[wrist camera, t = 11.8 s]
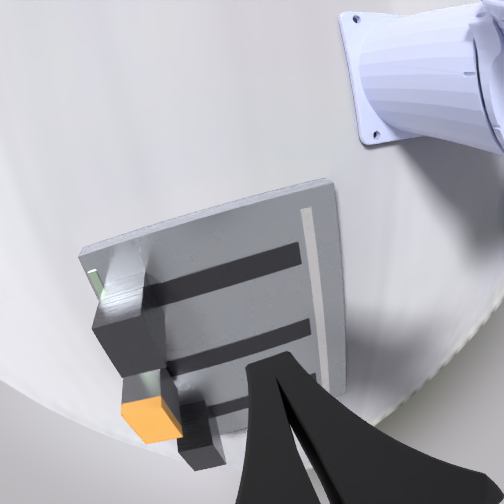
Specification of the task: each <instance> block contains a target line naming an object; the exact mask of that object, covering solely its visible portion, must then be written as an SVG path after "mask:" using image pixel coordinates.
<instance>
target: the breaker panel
mask: <svg viewBox="0 0 504 504" xmlns="http://www.w3.org/2000/svg"><path fill="white" fill-rule="evenodd" d="M78 258H79V260H80V262H81V264H82V267H83V269H84V271H85V273H86V275H87V277H88V279H89V282H90V284H91V286H92V288H93V290H94V292H95V294H96V296H97V298H98V300H99V304H98V308H97V311H96V315H95V318H94V322H93V325H92V330H93V332H94V334H95V335H96V337H97V339H98V340H99V342H100V344H101V345H102V347H103V349H104V350H105V352H106V354H107V355H108V357H109V358H110V360H111V362H112V363H113V365H114V366H115V368H116V369H117V371H118V372H119V374H120V375H121V377H122V378H123V377H128V376H132V375H137V374H141V373H145V372H149V371H153V370H157V369H162V368H166V369H167V371H168V373H169V375H170V376H171V378H172V380H173V382H174V383H175V385H176V387H177V389H178V397H179V407H180V416H181V425H182V433H183V437H181V438H177V446H178V453H179V454H180V455H181V456H182V457H183V458H184V460H185V461H186V462H187V463H188V464H189V465H190V466H191V467H192V469H193V470H194V471H198V470H203V469H207V468H212V467H216V466H221V465H225V464H226V460H225V456H224V452H223V447H222V443H221V438H220V435H222V434H226V433H229V432H233V431H237V430H240V429H244V428H247V427H248V405H249V403H248V383H247V375H246V370H245V367H246V366H247V365H248V364H250V363H253V362H256V361H259V360H262V359H265V358H268V357H271V356H274V355H276V354H279V353H282V352H285V351H288V352H291V354H292V355H293V356H294V358H295V359H296V360H297V361H298V363H299V364H300V365H301V366H302V367H303V368H304V369H305V370H306V371H307V373H308V374H309V375H310V376H311V377H312V378H313V379H314V380H315V381H316V382H317V383H319V384H320V385H321V386H322V387H323V388H324V389H325V390H326V391H327V392H328V393H330V394H331V395H332V396H333V397H337V396H339V395H342V394H344V393H346V348H345V316H344V295H343V278H342V264H341V251H340V239H339V228H338V218H337V209H336V199H335V191H334V183H333V182H331V181H329V180H327V179H325V178H321V179H317V180H313V181H309V182H305V183H301V184H297V185H293V186H289V187H285V188H281V189H277V190H273V191H270V192H266V193H262V194H258V195H254V196H251V197H247V198H243V199H240V200H236V201H232V202H229V203H225V204H222V205H218V206H215V207H211V208H208V209H204V210H201V211H197V212H194V213H190V214H187V215H184V216H180V217H177V218H174V219H170V220H167V221H164V222H160V223H157V224H154V225H151V226H147V227H144V228H141V229H138V230H135V231H132V232H129V233H125V234H122V235H119V236H116V237H113V238H110V239H107V240H104V241H101V242H98V243H95V244H92V245H89V246H86V247H83V249H82V251H81V252H80V254H79V256H78Z"/></svg>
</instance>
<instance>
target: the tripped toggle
mask: <svg viewBox="0 0 504 504" xmlns="http://www.w3.org/2000/svg"><path fill="white" fill-rule="evenodd" d="M121 416H122V417H123V418H124V419H125V420H126V422H127V423H128V424H129V425H130V426H131V428H132V429H133V430H134V431H135V432H136V433H137V435H138V436H139V437H140V438H141V439H142V440H143V441H144V442H145V444H149V443H155V442H161V441H166V440H171V439H176V438H181V437H183V433H182V425H181V416H180V407H179V397H178V389H177V387H176V385H175V383H174V382H173V380H172V378H171V376H170V375H169V373H168V371H167V369H166V368H162V369H157V370H153V371H149V372H145V373H141V374H137V375H132V376H128V377H123V390H122V404H121Z"/></svg>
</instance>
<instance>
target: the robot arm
mask: <svg viewBox="0 0 504 504" xmlns="http://www.w3.org/2000/svg"><path fill="white" fill-rule="evenodd" d="M481 1H482V2H480V3H472V4H465V5H458V6H452V7H447V8H441V9H436V10H431V11H426V12H421V13H417V14H413V15H408V16H403V15H394V14H383V13H369V12H343V13H341V14H340V15H339V17H338V20H339V25H340V29H341V33H342V38H343V42H344V47H345V52H346V57H347V62H348V67H349V72H350V78H351V84H352V89H353V95H354V102H355V108H356V115H357V122H358V129H359V137H360V140H361V142H362V143H364V144H366V145H373V144H379V143H384V142H390V141H396V140H402V139H409V138H415V137H422V136H430V137H434V138H439V139H443V140H447V141H451V142H455V143H459V144H463V145H467V146H470V147H474V148H478V149H481V150H485V151H488V152H491V153H495V154H498V155H501V156H504V0H481ZM353 17H355V18H356V19H357V23H355V22H354V21H353ZM374 132H376V133H377V136H376V138H375V139H374V137H373V134H374ZM245 370H246V375H247V383H248V403H249V405H248V431H247V441H246V451H245V459H244V465H243V471H242V477H241V482H240V487H239V491H238V495H237V499H236V503H235V504H321V503H320V501H319V499H318V497H317V494H316V492H315V490H314V488H313V486H312V483H311V481H310V479H309V477H308V474H307V472H306V469H305V467H304V465H303V462H302V460H301V458H300V455H299V453H298V451H297V448H296V444H295V441H294V437H293V434H292V430H291V427H292V429H293V431H294V433H295V435H296V437H297V439H298V441H299V442H300V444H301V446H302V448H303V450H304V452H305V454H306V455H307V457H308V459H309V461H310V463H311V465H312V466H313V468H314V470H315V472H316V473H317V475H318V477H319V479H320V481H321V484H322V486H323V488H324V490H325V492H326V495H327V497H328V499H329V502H330V504H499V503H500V502H501V501H502V500H503V498H504V494H503V493H502V491H501V490H500V488H499V487H498V486H497V485H496V484H495V483H494V482H493V481H492V480H491V479H490V478H489V477H488V476H487V475H486V474H483V473H480V472H477V471H473V470H469V469H466V468H462V467H459V466H456V465H453V464H450V463H447V462H444V461H442V460H439V459H436V458H433V457H431V456H429V455H427V454H424V453H422V452H420V451H418V450H416V449H413V448H411V447H409V446H407V445H405V444H403V443H401V442H399V441H397V440H395V439H393V438H392V437H390V436H388V435H386V434H385V433H383V432H381V431H380V430H378V429H377V428H375V427H373V426H372V425H370V424H369V423H367V422H366V421H364V420H363V419H361V418H360V417H359V416H357V415H356V414H354V413H353V412H352V411H350V410H349V409H348V408H346V407H345V406H344V405H343V404H341V403H340V402H339V401H338V400H337V399H335V398H334V397H333V396H332V395H331V394H330V393H328V392H327V391H326V390H325V389H324V388H323V387H322V386H321V385H320V384H319V383H317V382H316V381H315V380H314V379H313V378H312V377H311V376H310V375H309V374H308V373H307V371H306V370H305V369H304V368H303V367H302V366H301V365H300V364H299V363H298V361H297V360H296V359H295V358H294V356H293V355H292V354H291V352H288V351H285V352H282V353H279V354H276V355H274V356H271V357H268V358H265V359H262V360H259V361H256V362H253V363H250V364H248V365H247V366H246V367H245ZM290 425H291V427H290Z"/></svg>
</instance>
